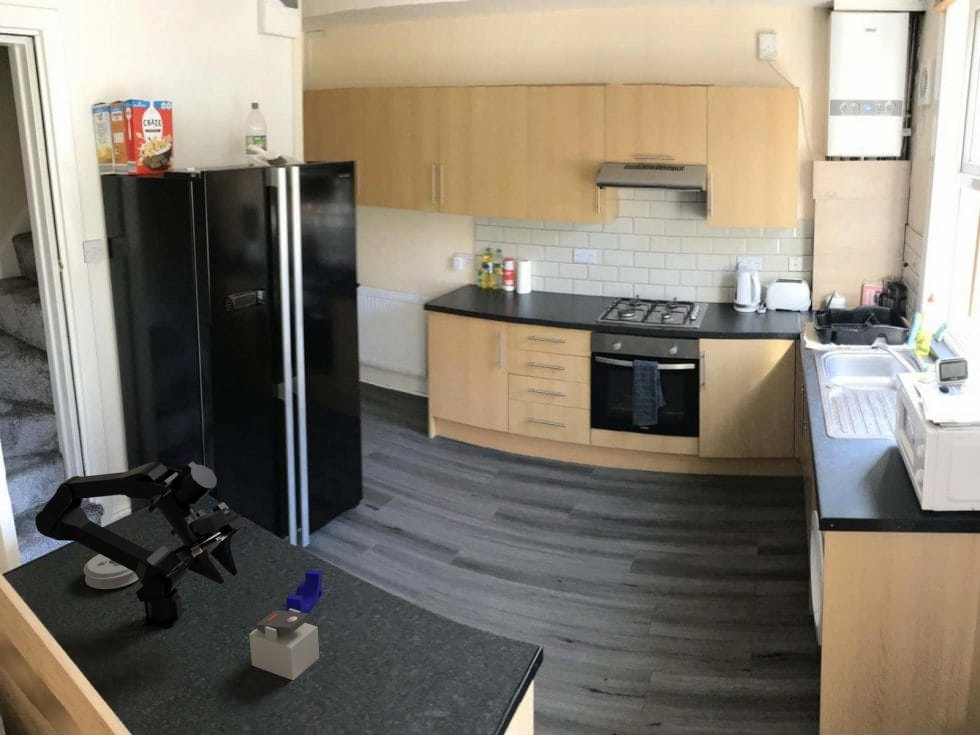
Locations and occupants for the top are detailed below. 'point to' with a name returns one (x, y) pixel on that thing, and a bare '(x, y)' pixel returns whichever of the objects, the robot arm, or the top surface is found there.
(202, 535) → the robot arm
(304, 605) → the blue notched block
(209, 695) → the top surface
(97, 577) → the lid
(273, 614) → the rocker
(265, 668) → the switch box
